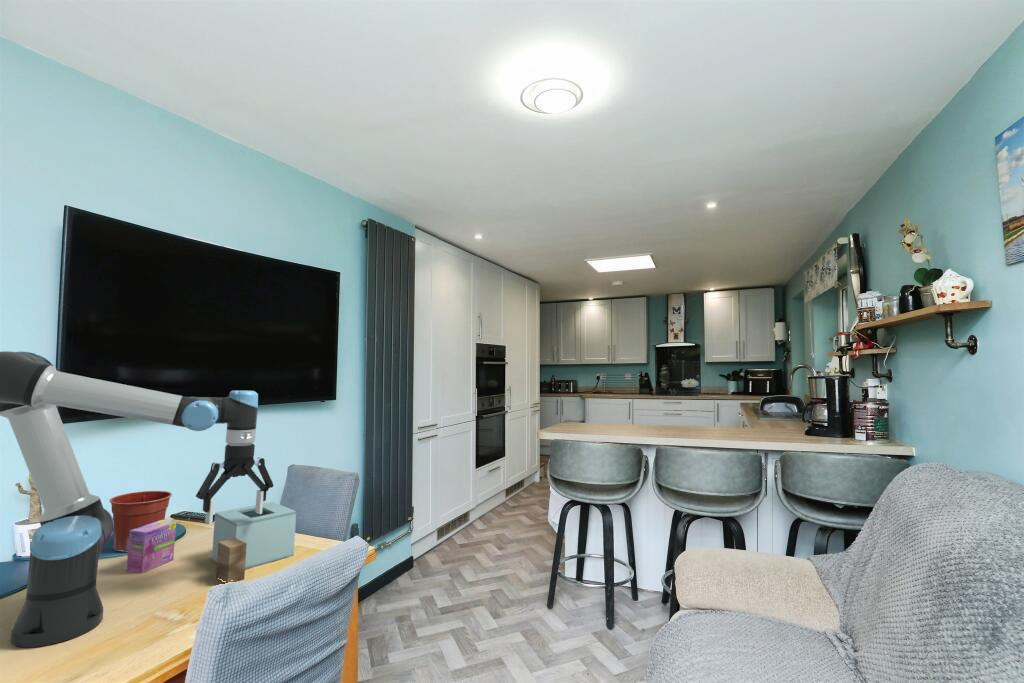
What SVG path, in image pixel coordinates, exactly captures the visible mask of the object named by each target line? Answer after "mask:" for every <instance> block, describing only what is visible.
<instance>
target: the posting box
mask: <svg viewBox="0 0 1024 683" xmlns="http://www.w3.org/2000/svg"><path fill="white" fill-rule="evenodd" d="M255 509H256V504H255V505H250V506H245V507H243V506H242V507H238V508H234V509H233V508H231V509H227V510H223V511H218V512H215V513H214V524H213V536H212V537H213V540H212V554H211V559H212V560H214V561H215V562H217V555H218V542H221V541H225V540H228V539H232V538H236V539H238V540H240V541H243V542H245V543H247V547H246V561H245V571H246V570H248V569H252V568H255V567H259V566H262V565H265V564H269V563H273V562H276V561H280V560H283V559H286V558H290V557H293V556H294V555H295V552H294V551H295V540H296V539H295V538H296V537H295V536H296V522H297V521H296V520H297V510H294V509H291V508H290V507H287V506H284V505H282V504H279V503H276V502H274V501H269V502H265V503H264V502H263V509H262V514H258V513H256V512H255Z"/></svg>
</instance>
